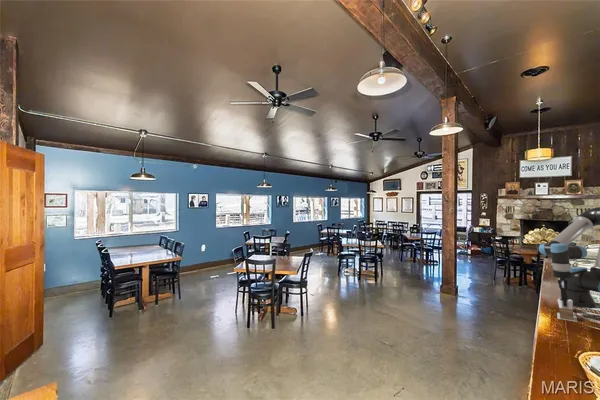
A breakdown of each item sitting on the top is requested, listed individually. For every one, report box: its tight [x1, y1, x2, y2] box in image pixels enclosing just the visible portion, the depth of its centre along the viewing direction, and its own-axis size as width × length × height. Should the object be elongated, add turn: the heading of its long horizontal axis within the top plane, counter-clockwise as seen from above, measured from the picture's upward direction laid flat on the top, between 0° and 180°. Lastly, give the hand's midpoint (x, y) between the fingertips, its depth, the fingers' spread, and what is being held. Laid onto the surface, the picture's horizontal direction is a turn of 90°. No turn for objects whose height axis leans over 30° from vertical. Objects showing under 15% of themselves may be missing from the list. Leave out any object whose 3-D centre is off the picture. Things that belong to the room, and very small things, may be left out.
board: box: [556, 312, 578, 322], centre depth 156 cm, size 11×8×1 cm
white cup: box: [557, 297, 574, 310], centre depth 166 cm, size 7×7×7 cm
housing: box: [558, 307, 574, 321], centre depth 155 cm, size 6×6×4 cm
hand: (565, 311), depth 159 cm, fingers closed
